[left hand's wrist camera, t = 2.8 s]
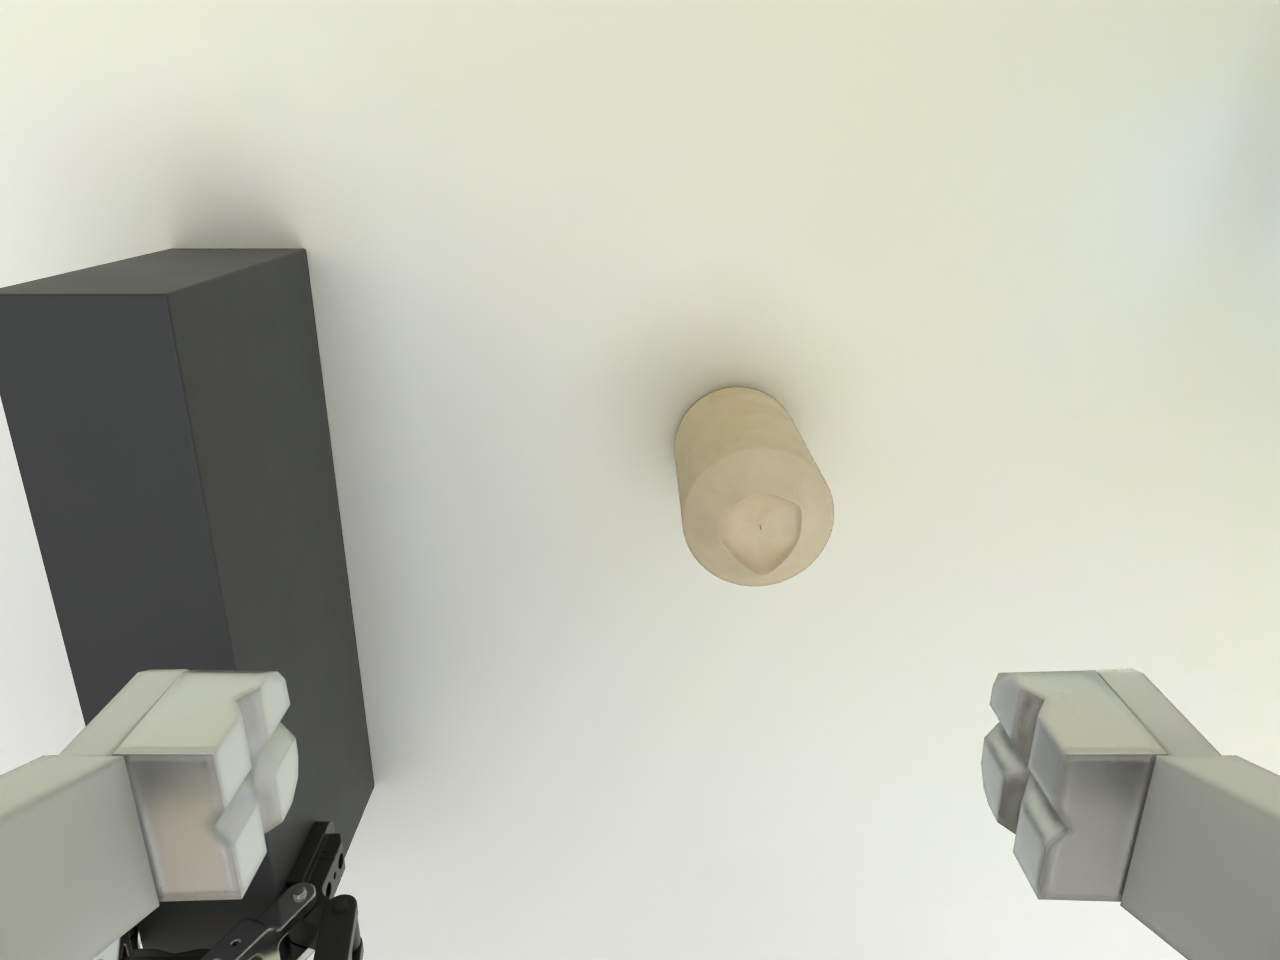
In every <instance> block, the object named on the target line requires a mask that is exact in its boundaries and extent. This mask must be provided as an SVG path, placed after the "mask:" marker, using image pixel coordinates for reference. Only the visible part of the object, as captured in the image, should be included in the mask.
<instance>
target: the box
mask: <svg viewBox="0 0 1280 960" xmlns="http://www.w3.org/2000/svg"><path fill="white" fill-rule="evenodd" d="M0 396H1V400H2V404H3V408H4V411H5V415H6V419H7V423H8V427H9V431H10V435H11V439H12V442H13V446H14V450H15V454H16V458H17V462H18V466H19V470H20V473H21V477H22V481H23V485H24V489H25V493H26V497H27V501H28V504H29V508H30V512H31V516H32V520H33V524H34V528H35V532H36V535H37V539H38V543H39V547H40V551H41V555H42V559H43V563H44V566H45V570H46V574H47V578H48V582H49V586H50V590H51V594H52V598H53V601H54V605H55V609H56V613H57V617H58V621H59V625H60V629H61V632H62V636H63V640H64V644H65V648H66V652H67V656H68V660H69V663H70V667H71V671H72V675H73V679H74V683H75V687H76V691H77V694H78V698H79V702H80V706H81V710H82V714H83V718H84V722H85V725H86V726H87V725H88V724H89V723H90V722H91V721H92V720H93V719H94V718H95V717H96V716H97V715H98V714H99V712H100V711H101V710H102V709H103V708H104V707H105V706H106V705H107V704H108V703H109V702H110V701H111V700H112V699H113V698H114V697H115V696H116V695H117V694H118V693H119V692H120V691H121V689H122V688H123V687H124V686H125V685H126V684H127V683H128V682H129V681H130V680H131V679H132V678H133V677H134V676H135V675H136V674H137V673H138V672H142V671H146V670H161V669H187V670H190V671H191V670H233V671H278V672H279V673H280V674H281V675H282V676H283V678H284V679H285V680H286V685H287V690H288V695H289V700H290V706H289V707H288V709H287V711H286V712H285V714H284V716H283V717H282V719H281V721H280V722H281V723H282V724H283V725H284V726H285V727H286V728H287V729H288V730H289V731H290V732H291V733H292V734H293V735H294V736H295V737H296V743H297V750H298V779H297V784H296V788H295V793H294V797H293V801H292V804H291V806H290V808H289V810H288V812H287V814H286V816H285V818H284V820H283V822H282V823H280V824H279V825H277V826H276V827H274V828H273V829H272V830H270V831H269V832H267V833H266V834H264V837H265V843H266V849H267V853H266V855H265V857H264V858H263V860H262V862H261V864H260V866H259V868H258V870H257V872H256V873H255V875H254V877H253V879H252V881H251V883H250V885H249V887H248V889H247V890H246V892H245V894H244V896H243V898H242V899H232V900H197V901H162V902H159V907H157V908H156V909H155V910H154V911H152V912H151V913H150V914H149V915H147V916H146V917H145V918H144V919H142V920H141V921H140V922H139V923H138V924H137V927H138V931H139V935H140V939H141V942H142V946H143V949H158V950H162V951H166V952H170V953H180V952H185V951H190V950H195V949H211V948H212V947H213V946H215V945H216V944H217V943H218V942H219V941H220V940H221V939H222V938H223V937H224V936H225V935H226V934H227V933H229V932H230V931H231V930H232V929H233V928H234V927H235V926H236V925H237V924H238V923H239V922H240V921H242V920H243V919H245V918H251V919H256V918H258V917H259V916H260V915H261V914H262V913H263V912H264V911H265V910H266V909H267V908H268V907H269V906H270V905H271V904H272V903H273V902H275V901H276V900H277V899H278V898H279V897H280V896H281V895H282V894H283V893H284V892H285V891H286V890H287V887H286V880H287V878H288V876H289V874H290V872H291V870H292V868H293V865H294V863H295V861H296V859H297V857H298V855H299V853H300V851H301V849H302V847H303V845H304V843H305V840H306V838H307V836H308V834H309V832H310V830H311V828H312V826H313V824H314V822H315V821H332V822H333V825H334V832H335V834H341V841H342V848H343V854H344V858H345V856H346V853H347V851H348V849H349V846H350V844H351V841H352V839H353V836H354V834H355V832H356V829H357V827H358V824H359V822H360V820H361V817H362V815H363V812H364V810H365V807H366V805H367V803H368V800H369V798H370V795H371V793H372V791H373V788H374V780H373V773H372V765H371V757H370V749H369V741H368V734H367V726H366V718H365V710H364V702H363V694H362V687H361V679H360V671H359V663H358V655H357V647H356V640H355V632H354V624H353V616H352V608H351V600H350V593H349V585H348V577H347V569H346V561H345V553H344V546H343V538H342V530H341V522H340V514H339V507H338V499H337V491H336V483H335V475H334V467H333V460H332V452H331V444H330V436H329V428H328V420H327V413H326V405H325V397H324V389H323V381H322V373H321V366H320V358H319V350H318V342H317V334H316V326H315V319H314V311H313V303H312V295H311V287H310V280H309V272H308V264H307V256H306V250H305V249H168V250H164V251H159V252H155V253H151V254H146V255H142V256H138V257H133V258H129V259H125V260H120V261H116V262H112V263H107V264H103V265H99V266H95V267H90V268H86V269H82V270H77V271H73V272H69V273H64V274H60V275H56V276H51V277H47V278H43V279H38V280H34V281H30V282H26V283H21V284H17V285H13V286H8V287H4V288H0ZM287 934H288V933H287ZM287 934H286V935H287ZM286 935H285V936H286ZM285 936H284V937H285Z"/></svg>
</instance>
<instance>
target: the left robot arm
mask: <svg viewBox="0 0 1280 960" xmlns="http://www.w3.org/2000/svg"><path fill="white" fill-rule="evenodd" d="M289 706H290V700H289V695H288V690H287V685H286V680H285V679H284V678H283V676H282V675H281V674H280V673H279V672H278V671H233V670H191V671H190V670H187V669H161V670H146V671H142V672H138V673H137V674H136V675H135V676H134V677H133V678H132V679H131V680H130V681H129V682H128V683H127V684H126V685H125V686H124V687H123V688H122V689H121V691H120V692H119V693H118V694H117V695H116V696H115V697H114V698H113V699H112V700H111V701H110V702H109V703H108V704H107V705H106V706H105V707H104V708H103V709H102V710H101V711H100V712H99V714H98V715H97V716H96V717H95V718H94V719H93V720H92V721H91V722H90V723H89V724H88V725H87V726H86V727H85V728H84V729H83V730H82V731H81V732H80V733H79V734H78V735H77V737H76V738H75V739H74V740H73V741H72V742H71V743H70V744H69V745H68V746H67V747H66V748H65V749H64V750H63V751H62V752H61V753H60V754H59V755H58V756H42V757H40V758H37V759H35V760H33V761H31V762H29V763H27V764H25V765H22V766H20V767H18V768H16V769H14V770H12V771H9V772H7V773H5V774H3V775H1V776H0V960H93V959H94V958H95V957H96V956H98V955H99V954H100V953H101V952H103V951H104V950H105V949H106V948H108V947H109V946H110V945H111V944H113V943H114V942H115V941H116V940H118V939H119V938H120V937H121V936H123V935H124V934H125V933H126V932H128V931H129V930H130V929H131V928H133V927H134V926H135V925H136V924H138V923H139V922H140V921H141V920H142V919H144V918H145V917H146V916H147V915H149V914H150V913H151V912H152V911H154V910H155V909H156V908H157V907H159V902H162V901H197V900H232V899H242V898H243V896H244V894H245V892H246V890H247V889H248V887H249V885H250V883H251V881H252V879H253V877H254V875H255V873H256V872H257V870H258V868H259V866H260V864H261V862H262V860H263V858H264V857H265V855H266V853H267V849H266V843H265V837H264V834H266V833H267V832H269V831H270V830H272V829H273V828H274V827H276V826H277V825H279V824H280V823H282V822H283V820H284V818H285V816H286V814H287V812H288V810H289V808H290V806H291V804H292V801H293V797H294V793H295V788H296V784H297V779H298V750H297V743H296V737H295V736H294V735H293V734H292V733H291V732H290V731H289V730H288V729H287V728H286V727H285V726H284V725H283V724H282V723H281V722H280V721H281V719H282V717H283V716H284V714H285V712H286V711H287V709H288V707H289ZM990 706H991V707H992V709H993V711H994V712H995V714H996V716H997V717H998V719H999V721H1000V722H999V723H998V724H997V725H996V726H995V727H994V728H993V729H992V730H991V731H990V732H989V733H988V734H987V735H986V736H985V737H984V745H983V753H982V761H981V765H982V776H983V787H984V790H985V794H986V797H987V801H988V804H989V806H990V808H991V810H992V812H993V814H994V816H995V818H996V820H997V822H998V823H1000V824H1001V825H1003V826H1004V827H1006V828H1007V829H1008V830H1010V831H1011V832H1013V833H1014V834H1016V837H1015V843H1014V849H1013V853H1014V855H1015V857H1016V858H1017V860H1018V862H1019V864H1020V866H1021V868H1022V870H1023V872H1024V873H1025V875H1026V877H1027V879H1028V881H1029V883H1030V885H1031V886H1032V888H1033V890H1034V892H1035V894H1036V896H1037V898H1038V899H1046V900H1082V901H1118V902H1121V904H1120V905H1121V906H1122V907H1123V908H1124V909H1125V910H1127V911H1128V912H1129V913H1130V914H1132V915H1133V916H1134V917H1135V918H1137V919H1138V920H1139V921H1140V922H1142V923H1143V924H1144V925H1145V926H1147V927H1148V928H1149V929H1150V930H1152V931H1153V932H1154V933H1155V934H1157V935H1158V936H1159V937H1160V938H1161V939H1163V940H1164V941H1165V942H1166V943H1168V944H1169V945H1170V946H1171V947H1173V948H1174V949H1175V950H1176V951H1178V952H1179V953H1180V954H1181V955H1183V956H1184V957H1185V958H1186V959H1188V960H1280V776H1279V775H1277V774H1275V773H1273V772H1270V771H1268V770H1266V769H1264V768H1262V767H1260V766H1258V765H1255V764H1253V763H1251V762H1249V761H1247V760H1245V759H1243V758H1240V757H1238V756H1222V755H1221V754H1220V753H1219V752H1218V751H1217V750H1216V749H1215V748H1214V747H1213V746H1212V745H1211V744H1210V743H1209V742H1208V741H1207V740H1206V739H1205V737H1204V736H1203V735H1202V734H1201V733H1200V732H1199V731H1198V730H1197V729H1196V728H1195V727H1194V726H1193V725H1192V724H1191V723H1190V722H1189V721H1188V720H1187V719H1186V718H1185V717H1184V715H1183V714H1182V713H1181V712H1180V711H1179V710H1178V709H1177V708H1176V707H1175V706H1174V705H1173V704H1172V703H1171V702H1170V701H1169V700H1168V699H1167V698H1166V697H1165V696H1164V695H1163V693H1162V692H1161V691H1160V690H1159V689H1158V688H1157V687H1156V686H1155V685H1154V684H1153V683H1152V682H1151V681H1150V680H1149V679H1148V678H1147V677H1146V676H1145V675H1144V674H1143V673H1141V672H1138V671H1136V670H1134V669H1112V670H1088V671H1056V672H1016V673H999V674H998V676H997V678H996V680H995V682H994V684H993V688H992V694H991V700H990Z"/></svg>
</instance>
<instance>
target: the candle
mask: <svg viewBox="0 0 1280 960" xmlns="http://www.w3.org/2000/svg"><path fill="white" fill-rule="evenodd" d="M675 462H676V471H677V480H678V489H679V498H680V507H681V516H682V524H683V532H684V536H685V539H686V542H687V544H688V547H689V549H690V551H691V552H692V554H693V555H694V557H695V558H696V559H697V561H698V562H699V563H700V564H701V565H702V566H703V567H704V568H705V569H706V570H708V571H709V572H710V573H712V574H713V575H715V576H717V577H719V578H721V579H723V580H725V581H728V582H731V583H734V584H738V585H745V586H765V585H771V584H775V583H779V582H782V581H785V580H788V579H790V578H792V577H794V576H796V575H797V574H799V573H800V572H802V571H803V570H805V569H806V568H807V567H808V566H809V565H811V564H812V563H813V562H814V561H815V560H816V558H817V557H818V556H819V555H820V553H821V552H822V551H823V549H824V547H825V546H826V544H827V542H828V540H829V537H830V534H831V531H832V527H833V521H834V504H833V500H832V495H831V493H830V490H829V487H828V485H827V483H826V481H825V480H824V478H823V476H822V474H821V472H820V470H819V469H818V467H817V465H816V463H815V461H814V459H813V457H812V456H811V454H810V452H809V450H808V448H807V446H806V445H805V443H804V441H803V439H802V437H801V435H800V434H799V432H798V430H797V428H796V426H795V424H794V423H793V421H792V419H791V417H790V416H789V414H788V413H787V412H786V410H785V409H784V408H783V407H782V406H781V405H780V404H779V403H778V402H777V401H776V400H774V399H773V398H772V397H770V396H768V395H766V394H765V393H763V392H760V391H758V390H754V389H750V388H744V387H731V388H724V389H720V390H717V391H714V392H712V393H710V394H708V395H706V396H704V397H703V398H701V399H700V400H698V401H697V402H696V403H695V404H694V405H693V406H692V407H691V408H690V409H689V410H688V412H687V413H686V414H685V416H684V417H683V419H682V421H681V423H680V425H679V428H678V431H677V434H676V439H675Z"/></svg>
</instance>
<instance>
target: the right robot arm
mask: <svg viewBox="0 0 1280 960" xmlns="http://www.w3.org/2000/svg"><path fill="white" fill-rule="evenodd" d="M344 870H345V862H344V854H343V848H342V841H341V834H335V832H334V825H333V822H332V821H315V822H314V824H313V826H312V828H311V830H310V832H309V834H308V836H307V838H306V840H305V843H304V845H303V847H302V849H301V851H300V853H299V855H298V857H297V859H296V861H295V863H294V865H293V868H292V870H291V872H290V874H289V876H288V878H287V880H286V887H287V890H286V891H285V892H284V893H283V894H282V895H281V896H280V897H279V898H278V899H277V900H276V901H275V902H273V903H272V904H271V905H270V906H269V907H268V908H267V909H266V910H265V911H264V912H263V913H262V914H261V915H260V916H259V917H258V918H256V919H251V918H245V919H243V920H242V921H240V922H239V923H238V924H237V925H236V926H235V927H234V928H233V929H232V930H231V931H230V932H229V933H227V934H226V935H225V936H224V937H223V938H222V939H221V940H220V941H219V942H218V943H217V944H216V945H215V946H213V947H212V948H211V949H195V950H190V951H185V952H180V953H170V952H166V951H162V950H158V949H140V940H141V939H140V935H139V931H138V927H137V924H136V925H135V926H134V927H133V928H131V929H130V930H129V931H128V932H126V933H125V934H124V935H123V936H121V937H120V938H119V939H118V940H116V941H115V942H114V943H113V944H111V945H110V946H109V947H108V948H106V949H105V950H104V951H103V952H101V953H100V954H99V955H98V956H96V957H95V958H94V959H93V960H307V959H308V957H309V956H310V955H311V954H312V953H313V952H314V951H315V955H314V960H362V958H363V943H362V938H361V937H360V931H359V924H358V908H357V902H356V899H355V898H354V897H353V896H351V895H339V896H336V897H334V895H335V892H336V890H337V887H338V885H339V882H340V880H341V877H342V875H343V872H344ZM333 897H334V898H333ZM287 933H288V934H287ZM286 934H287V935H286ZM285 935H286V936H285ZM284 936H285V937H284Z"/></svg>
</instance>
